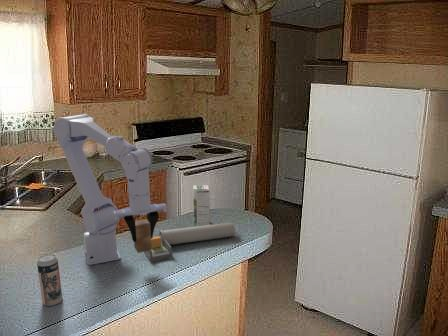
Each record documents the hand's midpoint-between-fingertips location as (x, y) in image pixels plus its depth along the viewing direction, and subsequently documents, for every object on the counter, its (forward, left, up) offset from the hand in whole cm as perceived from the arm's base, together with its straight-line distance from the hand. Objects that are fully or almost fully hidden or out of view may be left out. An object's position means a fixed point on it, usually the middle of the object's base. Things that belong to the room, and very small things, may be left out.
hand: (142, 238), depth 120 cm
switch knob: (+6, +9, -8) cm, 14 cm away
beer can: (-25, -7, -10) cm, 28 cm away
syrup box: (+27, +24, -10) cm, 37 cm away
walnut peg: (0, 0, -3) cm, 3 cm away
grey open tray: (+6, +9, -9) cm, 15 cm away
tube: (+21, +12, -9) cm, 26 cm away
